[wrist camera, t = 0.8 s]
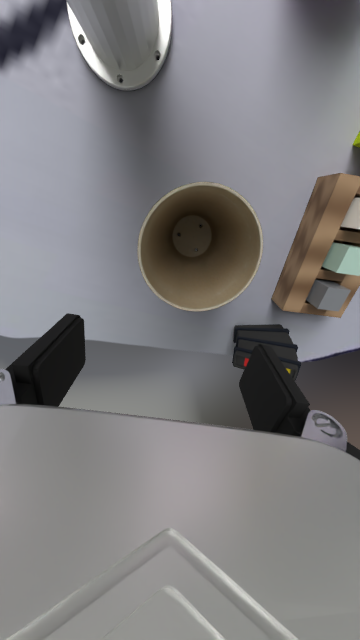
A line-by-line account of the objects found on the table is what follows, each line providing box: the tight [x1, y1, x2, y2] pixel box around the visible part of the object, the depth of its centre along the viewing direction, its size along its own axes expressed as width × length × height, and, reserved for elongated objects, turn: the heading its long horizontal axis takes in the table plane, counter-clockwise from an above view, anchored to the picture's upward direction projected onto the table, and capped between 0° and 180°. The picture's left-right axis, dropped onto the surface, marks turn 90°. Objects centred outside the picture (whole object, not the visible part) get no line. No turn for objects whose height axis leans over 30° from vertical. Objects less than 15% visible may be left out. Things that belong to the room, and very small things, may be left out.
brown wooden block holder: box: [272, 173, 360, 318], centre depth 37 cm, size 22×12×6 cm, turn 172°
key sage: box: [322, 242, 360, 276], centre depth 34 cm, size 4×4×5 cm
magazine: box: [232, 325, 301, 381], centre depth 44 cm, size 4×13×15 cm, turn 91°
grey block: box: [306, 279, 351, 311], centre depth 38 cm, size 4×4×5 cm
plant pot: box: [138, 182, 263, 311], centre depth 32 cm, size 15×15×16 cm
